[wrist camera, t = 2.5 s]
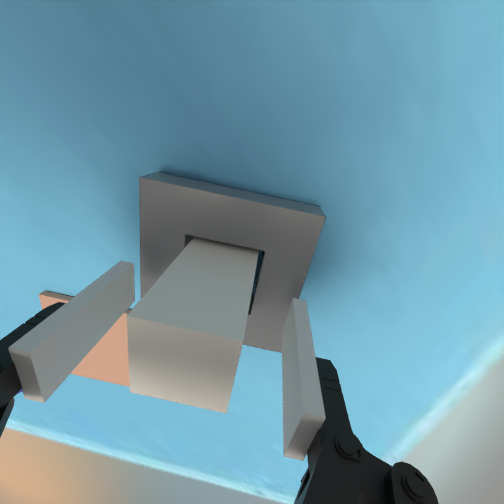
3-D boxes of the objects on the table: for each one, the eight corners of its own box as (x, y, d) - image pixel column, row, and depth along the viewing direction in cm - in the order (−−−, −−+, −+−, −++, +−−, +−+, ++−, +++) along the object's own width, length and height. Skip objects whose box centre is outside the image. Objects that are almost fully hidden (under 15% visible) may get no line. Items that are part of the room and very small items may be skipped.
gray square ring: (158, 172, 17) (139, 177, 15) (319, 206, 17) (326, 216, 14) (155, 303, 22) (140, 322, 19) (280, 330, 22) (280, 352, 19)
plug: (201, 228, 18) (126, 315, 9) (260, 240, 18) (243, 341, 9) (196, 278, 20) (130, 391, 11) (249, 290, 20) (226, 413, 11)
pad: (44, 290, 22) (38, 294, 22) (151, 314, 22) (148, 318, 22) (60, 365, 27) (56, 370, 26) (150, 385, 27) (147, 390, 26)
